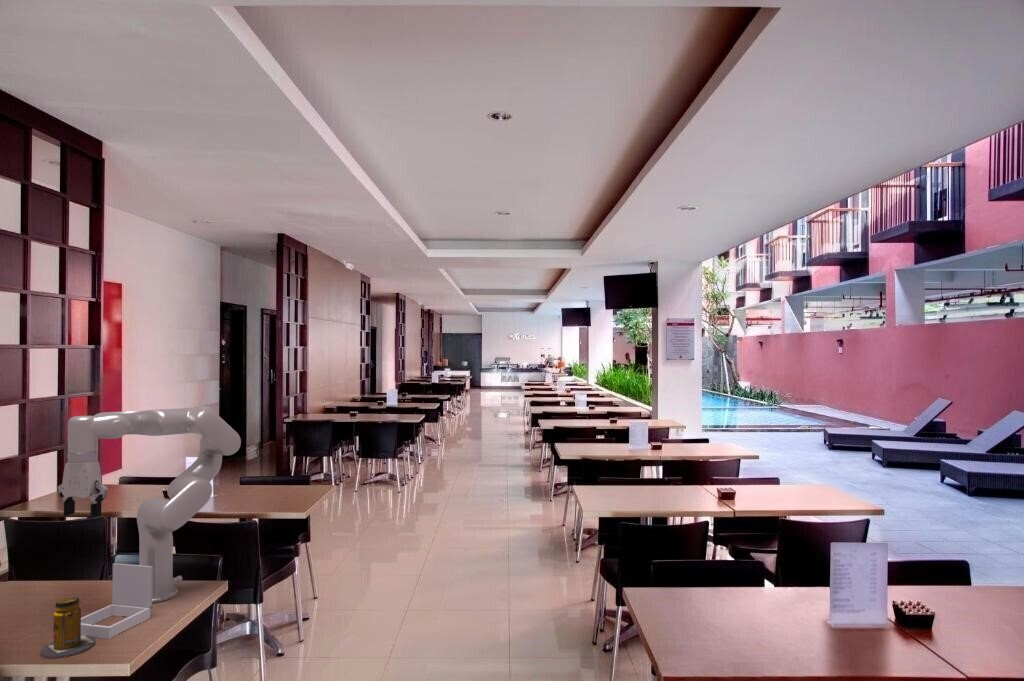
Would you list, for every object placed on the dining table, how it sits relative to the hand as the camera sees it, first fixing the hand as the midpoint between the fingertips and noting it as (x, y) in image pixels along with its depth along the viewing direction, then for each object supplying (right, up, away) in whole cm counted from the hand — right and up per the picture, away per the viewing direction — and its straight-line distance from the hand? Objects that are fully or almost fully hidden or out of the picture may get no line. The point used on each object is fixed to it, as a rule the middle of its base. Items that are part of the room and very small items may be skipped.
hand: (82, 515), depth 197 cm
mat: (+10, -30, -21) cm, 37 cm away
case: (+12, -30, -6) cm, 33 cm away
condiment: (+10, -29, -20) cm, 37 cm away
